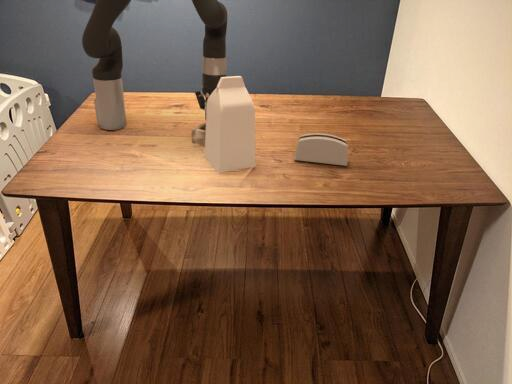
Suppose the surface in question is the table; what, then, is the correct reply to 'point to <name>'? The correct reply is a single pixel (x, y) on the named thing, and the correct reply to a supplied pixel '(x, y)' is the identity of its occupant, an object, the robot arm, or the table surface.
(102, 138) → the table surface
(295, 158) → the napkin holder
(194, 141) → the socket block
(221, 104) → the milk
